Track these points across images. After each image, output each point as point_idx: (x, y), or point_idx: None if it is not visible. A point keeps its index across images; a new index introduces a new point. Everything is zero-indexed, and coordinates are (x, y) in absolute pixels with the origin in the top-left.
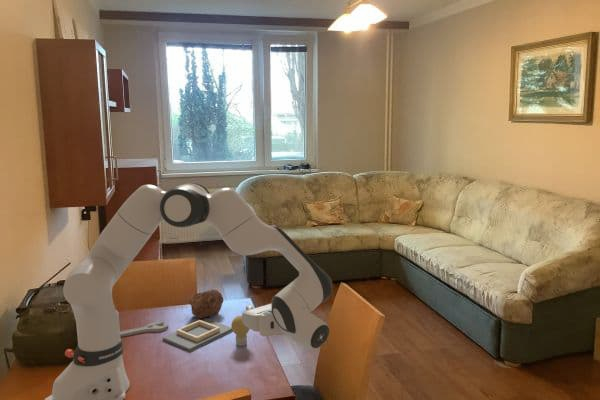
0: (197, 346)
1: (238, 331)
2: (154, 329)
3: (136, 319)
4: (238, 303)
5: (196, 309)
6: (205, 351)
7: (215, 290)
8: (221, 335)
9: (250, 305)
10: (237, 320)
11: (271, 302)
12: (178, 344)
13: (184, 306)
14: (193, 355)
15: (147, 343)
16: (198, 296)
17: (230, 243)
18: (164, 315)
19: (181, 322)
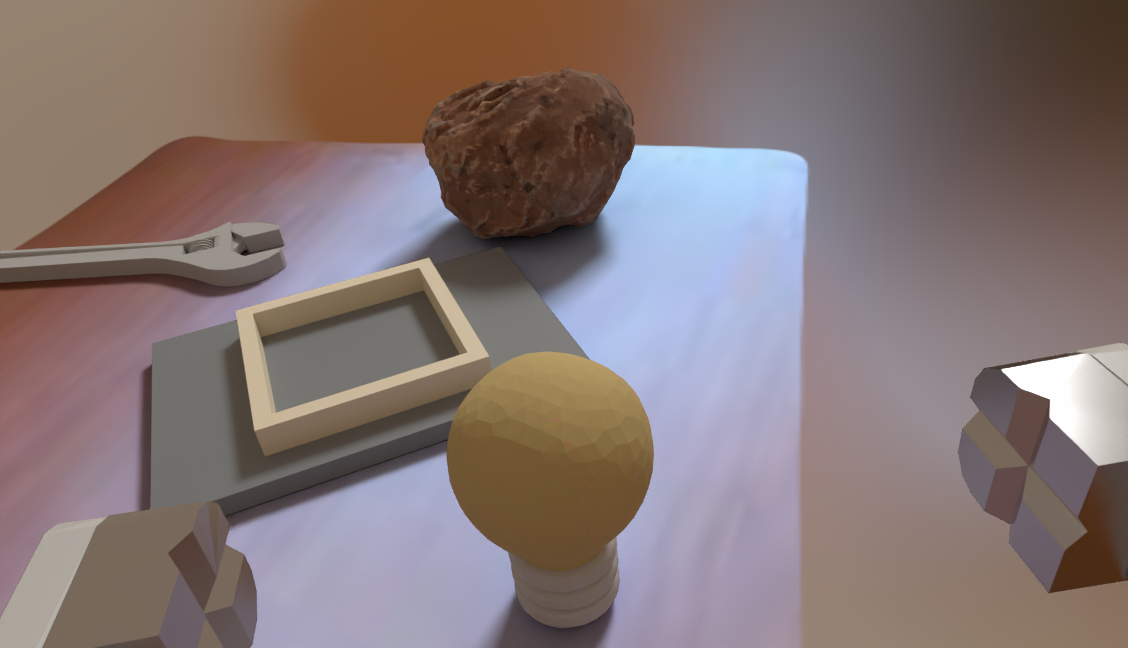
0: (239, 502)
1: (487, 535)
2: (196, 269)
3: (227, 188)
4: (751, 171)
5: (448, 184)
6: None
7: (580, 76)
8: None
9: (195, 516)
10: (483, 421)
11: (966, 439)
12: (152, 440)
13: None
14: None
15: (68, 364)
16: (468, 104)
17: None
18: (351, 186)
19: (376, 245)
